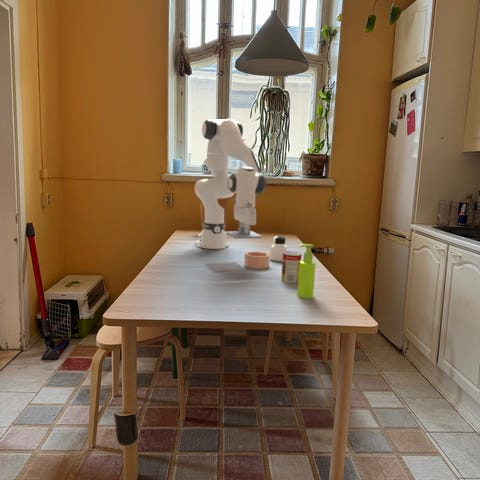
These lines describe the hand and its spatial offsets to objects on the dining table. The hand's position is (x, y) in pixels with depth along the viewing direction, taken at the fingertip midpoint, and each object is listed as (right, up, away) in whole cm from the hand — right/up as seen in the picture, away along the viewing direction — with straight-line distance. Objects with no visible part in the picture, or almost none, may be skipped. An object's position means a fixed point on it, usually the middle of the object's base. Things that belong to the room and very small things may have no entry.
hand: (244, 231), depth 190 cm
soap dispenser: (+22, -25, -35) cm, 49 cm away
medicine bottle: (+18, -14, +22) cm, 32 cm away
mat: (-9, -17, 0) cm, 19 cm away
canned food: (+20, -21, -15) cm, 33 cm away
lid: (0, -2, 0) cm, 2 cm away
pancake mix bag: (-19, -1, +84) cm, 87 cm away
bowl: (+6, -17, +6) cm, 19 cm away
